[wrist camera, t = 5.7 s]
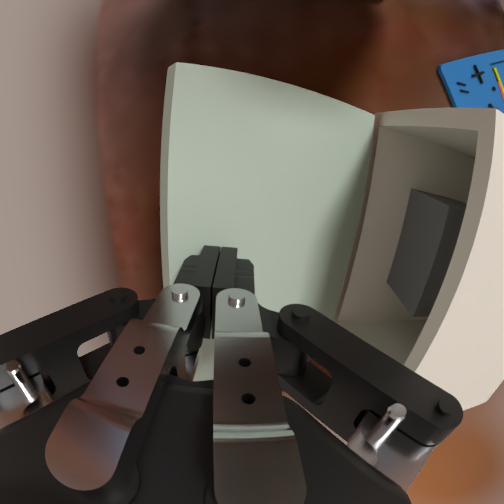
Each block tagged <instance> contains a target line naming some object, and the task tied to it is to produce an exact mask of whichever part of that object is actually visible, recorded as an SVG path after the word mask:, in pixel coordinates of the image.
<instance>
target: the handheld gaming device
mask: <svg viewBox="0 0 504 504" xmlns="http://www.w3.org/2000/svg"><path fill="white" fill-rule="evenodd" d="M438 73H439V75H440V77H441V79H442V81H443V84H444V86H445V88H446V90H447V93H448V95H449V98H450V100H451V103H452V105H453V108H455V107H472V108H496V109H498V110H499V111H501V112H502V113H503V114H504V50H498V51H493V52H488V53H484V54H479V55H475V56H471V57H467V58H463V59H459V60H455V61H452V62H448V63H445V64H441V65H439V66H438Z"/></svg>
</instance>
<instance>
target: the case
mask: <svg viewBox="0 0 504 504" xmlns="http://www.w3.org/2000/svg"><path fill="white" fill-rule="evenodd" d="M333 321H334V322H335V323H337V324H339V325H340V326H342V327H343V328H345V329H346V330H348V331H350V332H351V333H353V334H354V335H356V336H358V337H359V338H361V339H362V340H364V341H365V342H367V343H369V344H370V345H372V346H373V347H375V348H377V349H378V350H380V351H381V352H383V353H385V354H386V355H388V356H389V357H391V358H393V359H394V360H396V361H397V362H399V363H401V364H402V365H404V366H406V367H407V368H409V369H410V370H412V371H414V372H415V373H417V374H418V375H420V376H422V377H423V378H425V379H427V380H428V381H430V382H432V383H433V384H435V385H436V386H438V387H440V388H441V389H443V390H445V391H446V392H448V393H450V394H451V395H453V396H454V397H455V398H456V399H457V400H458V401H459V403H460V404H461V406H462V409H463V411H464V410H466V409H469V408H472V407H474V406H477V405H479V404H482V403H484V402H486V401H487V400H488V399H489V398H490V396H491V395H492V394H493V393H494V391H495V390H496V389H497V387H498V386H499V385H500V384H501V382H502V381H503V379H504V114H503V113H502V112H501V111H499V110H498V109H496V108H472V107H455V108H426V109H411V110H399V111H389V112H380V113H375V119H374V128H373V137H372V145H371V152H370V159H369V166H368V172H367V178H366V184H365V190H364V196H363V201H362V206H361V211H360V216H359V221H358V226H357V231H356V235H355V240H354V244H353V248H352V252H351V257H350V261H349V265H348V269H347V272H346V276H345V280H344V284H343V287H342V291H341V295H340V298H339V302H338V305H337V308H336V312H335V315H334V318H333Z"/></svg>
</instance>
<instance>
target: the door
mask: <svg viewBox="0 0 504 504" xmlns="http://www.w3.org/2000/svg"><path fill="white" fill-rule="evenodd" d="M374 119H375V115H373V114H371V113H368V112H366V111H364V110H361V109H359V108H357V107H354V106H352V105H349V104H347V103H344V102H342V101H339V100H336V99H334V98H331V97H328V96H325V95H322V94H320V93H317V92H314V91H311V90H307V89H304V88H301V87H298V86H295V85H291V84H288V83H284V82H281V81H277V80H273V79H269V78H265V77H261V76H257V75H253V74H248V73H243V72H239V71H233V70H228V69H223V68H217V67H211V66H204V65H197V64H189V63H180V62H176V63H174V64H173V65H171V66H170V67H168V71H167V79H166V88H165V99H164V110H163V123H162V140H161V164H160V232H161V257H162V274H163V288H165V287H166V286H169V285H172V284H174V281H175V279H176V277H177V275H178V273H179V271H180V268H181V267H182V264H183V262H184V260H185V259H186V258H188V257H189V256H191V255H201V252H202V250H203V247H204V245H209V246H220V247H234V248H238V251H237V258H238V259H249V260H250V261H251V263H252V264H253V265H254V286H255V296H256V298H257V301H258V303H259V304H260V305H261V306H262V307H264V308H266V309H268V310H272V311H275V312H280V310H281V308H283V307H284V306H286V305H289V304H303V305H307V306H309V307H312V308H313V309H315V310H317V311H318V312H320V313H321V314H323V315H324V316H326V317H328V318H329V319H331V320H332V321H333V318H334V315H335V312H336V308H337V305H338V302H339V298H340V295H341V291H342V287H343V284H344V280H345V276H346V272H347V269H348V265H349V261H350V257H351V252H352V248H353V244H354V240H355V235H356V231H357V226H358V221H359V216H360V211H361V206H362V201H363V196H364V190H365V184H366V178H367V172H368V166H369V159H370V152H371V145H372V137H373V128H374ZM205 380H214V339H212V330H211V336H210V339H206V338H203V343H202V346H201V355H200V358H199V362H198V365H197V369H196V372H195V375H194V379H193V381H205Z"/></svg>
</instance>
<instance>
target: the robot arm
mask: <svg viewBox="0 0 504 504" xmlns="http://www.w3.org/2000/svg"><path fill="white" fill-rule="evenodd" d="M237 251H238V248H234V247H220V246H209V245H204V247H203V250H202V252H201V255H191V256H189V257H188V258H186V259H185V260H184V262H183V264H182V267H181V268H180V271H179V273H178V275H177V277H176V279H175V281H174V284H172V285H169V286H166V287H165V288H163V289H162V291H161V292H160V294H159V295H158V297H157V298H156V299H152V300H140V301H138V296H137V294H136V292H135V291H133V290H131V289H128V288H114V289H111V290H108V291H105V292H104V293H101V294H98V295H95V296H93V297H91V298H88V299H86V300H83V301H81V302H78V303H76V304H73V305H71V306H69V307H66V308H64V309H61V310H59V311H57V312H54V313H51V314H49V315H47V316H44V317H42V318H39V319H37V320H35V321H32V322H30V323H28V324H25V325H23V326H20V327H18V328H16V329H13V330H11V331H9V332H6V333H4V334H2V335H0V504H411V501H410V499H409V497H408V495H407V494H406V491H407V490H408V488H409V487H410V485H411V484H412V482H413V481H414V479H415V478H416V476H417V475H418V473H419V472H420V470H421V469H422V467H423V465H424V464H425V462H426V461H427V459H428V457H429V455H430V454H431V452H432V450H433V449H434V448H435V447H436V446H437V445H439V444H440V443H441V442H442V441H443V440H444V439H445V438H446V437H447V436H448V435H449V434H450V433H451V432H452V431H453V430H454V429H455V428H456V427H457V426H458V425H459V424H460V423H461V421H462V418H463V409H462V406H461V404H460V403H459V401H458V400H457V399H456V398H455V397H454V396H453V395H451V394H450V393H448V392H446V391H445V390H443V389H441V388H440V387H438V386H436V385H435V384H433V383H432V382H430V381H428V380H427V379H425V378H423V377H422V376H420V375H418V374H417V373H415V372H414V371H412V370H410V369H409V368H407V367H406V366H404V365H402V364H401V363H399V362H397V361H396V360H394V359H393V358H391V357H389V356H388V355H386V354H385V353H383V352H381V351H380V350H378V349H377V348H375V347H373V346H372V345H370V344H369V343H367V342H365V341H364V340H362V339H361V338H359V337H358V336H356V335H354V334H353V333H351V332H350V331H348V330H346V329H345V328H343V327H342V326H340V325H339V324H337V323H335V322H334V321H332V320H331V319H329V318H328V317H326V316H324V315H323V314H321V313H320V312H318V311H317V310H315V309H313V308H312V307H309V306H307V305H303V304H289V305H286V306H284V307H283V308H281V310H280V312H275V311H272V310H268V309H266V308H264V307H262V306H261V305H260V304H259V303H258V301H257V298H256V296H255V286H254V265H253V264H252V263H251V261H250V260H249V259H238V258H237ZM211 330H212V339H214V380H205V381H193V379H194V375H195V372H196V369H197V365H198V362H199V358H200V355H201V346H202V343H203V338H206V339H210V336H211ZM105 332H107V334H108V337H109V341H110V343H108V344H106V345H104V346H102V347H100V348H98V349H96V350H94V351H92V352H89V353H88V354H85V355H83V356H81V357H78V355H77V350H78V348H79V346H80V345H81V344H82V343H84V342H86V341H88V340H90V339H93V338H95V337H97V336H99V335H101V334H103V333H105ZM310 357H311V358H312V359H314V360H315V361H316V362H318V363H319V364H320V365H322V366H323V367H324V368H326V369H327V370H328V371H329V372H330V374H331V376H332V378H330V377H329V376H327V375H326V374H325V373H323V372H322V371H321V370H319V369H318V368H317V367H315V366H314V365H313V364H311V363H310V362H309V359H310ZM280 387H281V388H282V389H283V390H284V391H285V392H286V393H288V394H289V395H290V396H291V397H292V398H294V399H295V400H296V401H297V402H298V403H299V404H301V405H302V406H303V407H304V408H305V409H307V410H308V411H309V412H310V413H311V414H313V415H314V416H315V417H316V418H317V419H319V420H320V421H321V422H322V423H324V424H325V425H326V426H328V427H329V428H330V429H331V430H333V431H334V432H335V433H336V434H338V435H339V436H341V437H342V438H343V439H344V440H346V441H347V442H348V443H347V445H345V444H344V443H343V442H341V440H339V439H338V438H336V436H334V435H333V434H332V433H331V432H330V431H328V430H327V429H326V428H325V427H324V426H323V425H322V424H320V423H319V422H318V421H317V420H316V419H314V418H313V417H312V416H311V415H310V414H309V413H308V412H307V411H306V410H304V409H303V408H302V407H301V406H300V405H298V404H297V403H295V402H294V401H292V400H290V399H289V398H287V397H285V396H282V393H281V388H280Z"/></svg>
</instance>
